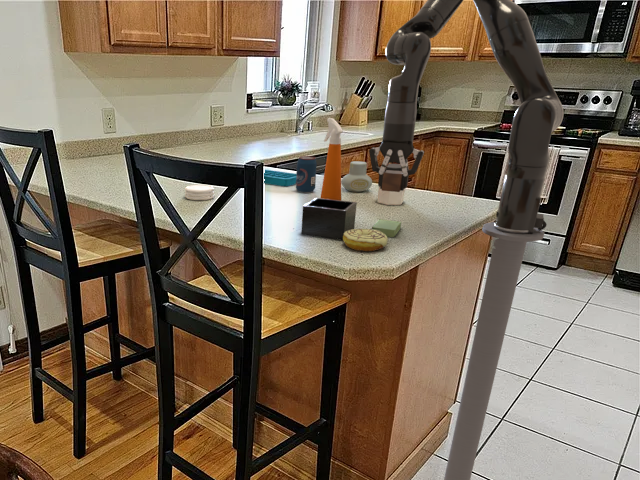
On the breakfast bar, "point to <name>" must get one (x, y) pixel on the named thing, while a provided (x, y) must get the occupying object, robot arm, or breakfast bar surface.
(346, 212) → the black open box
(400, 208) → the breakfast bar surface
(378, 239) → the decorated donut
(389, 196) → the jar
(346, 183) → the air freshener
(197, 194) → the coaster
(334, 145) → the spray bottle
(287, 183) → the ice cube tray
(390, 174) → the block
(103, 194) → the breakfast bar surface
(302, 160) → the soda can
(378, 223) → the sponge
